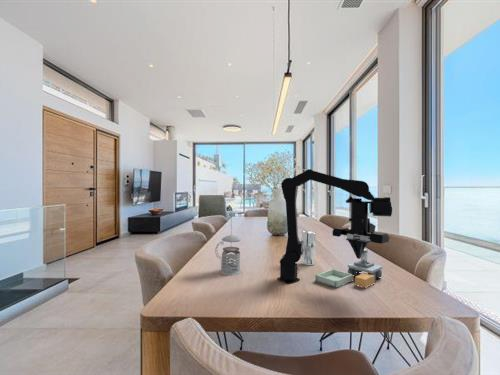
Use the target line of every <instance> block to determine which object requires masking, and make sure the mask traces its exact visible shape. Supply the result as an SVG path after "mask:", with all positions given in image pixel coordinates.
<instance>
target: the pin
mask: <svg viewBox="0 0 500 375" xmlns="http://www.w3.org/2000/svg"><path fill="white" fill-rule="evenodd" d="M368 253H369V252H368V248H364V251H363V253H362V256H361V258H360V260H361V264H365V265H367V262H368Z"/></svg>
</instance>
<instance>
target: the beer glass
mask: <svg viewBox="0 0 500 375" xmlns="http://www.w3.org/2000/svg"><path fill="white" fill-rule="evenodd" d="M316 234H317V232H316V231H313V230H302V231H301V237H300V241H303V249H304V252H303V254H302V256H301V257H302V258H301V265H304V266H314V265H315V264H316V262H315V252H316V247H317V235H316Z"/></svg>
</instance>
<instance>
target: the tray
mask: <svg viewBox="0 0 500 375" xmlns="http://www.w3.org/2000/svg"><path fill="white" fill-rule="evenodd" d="M314 276H315V281H314V282H315V283H319V284H322V283H323V284H322V285H325V284H326V285H325V286H328V285H329V286H328V287H331V286H332V288H334V287H335V288H334V289H338V288H340V287H339V286H341V285H343V284H345V285H347V284H346V283H348V282H350V281H352V280H353V281H354V276H353V274H350V273H348V272H345V271H342V270H338V269H334V268H333V269H332V268H331V269H329V270H326V271H324V272H320V273H317V274H315V275H314ZM353 281H352V282H353ZM350 283H351V282H350ZM348 284H349V283H348ZM343 286H344V285H343ZM337 287H338V288H337ZM341 287H342V286H341Z"/></svg>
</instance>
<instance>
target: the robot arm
mask: <svg viewBox="0 0 500 375" xmlns="http://www.w3.org/2000/svg"><path fill="white" fill-rule="evenodd" d="M309 181H314V182H317V183H320V184H323V185H328V186H331V187H334V188H338V189H340V190H343V191H345V192H347V193H349V194H351V195H353V196H355V197H356V198H353V197H352V196H349V197H348V198H347V199H346V200H345V203H346V204H350V217H348V222H350V229H349V228H348V227H341V226H339V227H334V228H333V229H332V231H331V233H332V237H333V236H334V237H338V238H340V237H341V236H347V237H346V239H345V240H346V241H348V243H349V245H350V247H351V248H352V250H353V253H354V255H355V257H356V258H357V259H360V260H361V256H362V253H363V251H364V249H366V246H367V244H369V243H373V244H374V243H375V244H381V245H382V244H385V243H389V241H390V240H389V239H390V236H389V235H388V233H386V232H379V231H375V230H376V225H375V224H373V223H372V222H371V220H370V218H369V214H372V216H373V217H387V218H388V217H389V218H390V217H392V214H393V207H392V202H391V197H390V196H387V197H386V196H385V197H384V196H383V197H375V196H374V194H372V192H370V187H369V184H368V183H367V182H366V181H363V180H359V179H358V180H355V179H348V178H347V179H345V178H341V177H337V176H334V175H330V174H328V173H327V174H326V173H322V172H318V171H316V170H313V169H311V168H310V169H309V168H308V169H306V170H305V171H303V172H301V173H299V174H297V175H295V176H293V177H286V178H284V179H283V180H282V181H281V184H280V186H281V192H282V195H283V197H284V198H283V199H284V202H285V211H286V212H285V213H286V227H287V228H286V229H287V240H286V247H285V253H284V254H283V255H282V257H281V258H280V260H279V264H280V266H279V269H280V270H279V274H280V276H279V277H277V278H276V279H277V280H278V281H281V282H284V283H285V284H293V283H297V282H298V281H301V280H300V278H299V277H298V264H297V263H298V262H299V261H300V259H302V258H301V257H302V256H303V252H304V249H303V241H301V240H300V238H299V230H298V216H297V214H298V213H297V199H298V198H297V197H298V190H299V187H300V186H302V185H304V184H306V183H308V182H309ZM357 197H358V198H357ZM362 198H364V199H365V200H368V201H365V200H364V201H363V200H362Z"/></svg>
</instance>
